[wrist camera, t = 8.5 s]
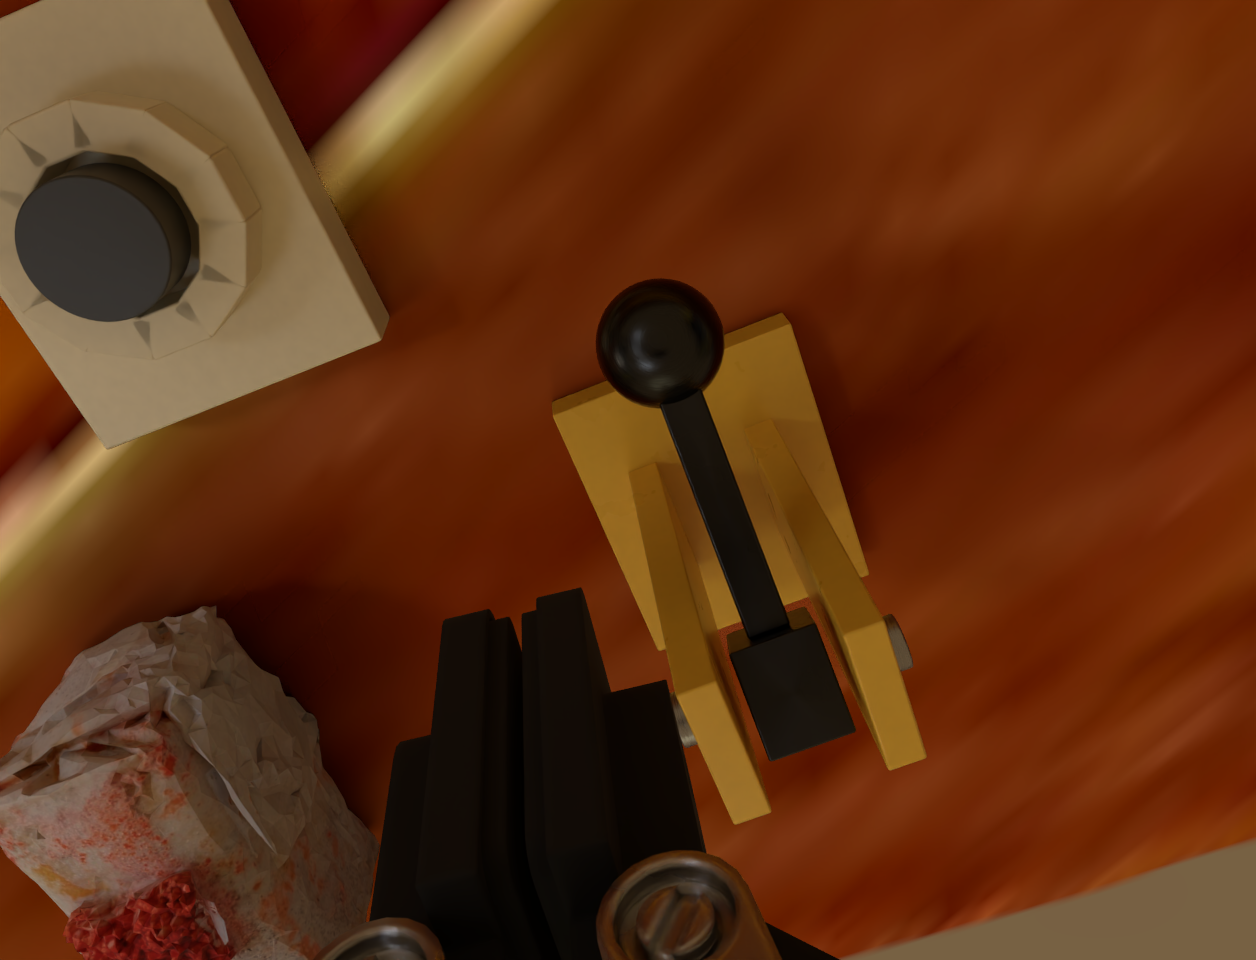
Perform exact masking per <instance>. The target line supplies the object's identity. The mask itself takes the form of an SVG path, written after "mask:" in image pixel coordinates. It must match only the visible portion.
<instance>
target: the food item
mask: <svg viewBox="0 0 1256 960" xmlns="http://www.w3.org/2000/svg"><path fill="white" fill-rule="evenodd" d="M11 748H12V749H11V750H10V752H9V753H8V754H6V755H5V756H4V757H2V758H1V759H0V845H1V847H2V849H3V851H4V853H5V854H6V856H7V857H8V858H9V859H10V860H11V861H13V862H14V863H15V864H16V865H17V866H18V867H19V868H20V869H21V870H22V871H23V872H24V873H26V874H27V875H28V876H29V877H30V878H31V879H33V880H34V881H35V882H37V883H38V885H39V886H40V887H41V888H42V889H43V890H44V891H45V892H46V893H47V894H48V895H49V896H50V897H51V898H52V899H53V901H54V902H55V903H56V904H57V905H58V906H59V907H60V908H61V909H62V910H63V911H64V912H65V914H66V915H67V916H68V917H69V920H68V923H67V925H66V927H65V930H64V933H63V936H66V943H74V945H75V949H76V950H77V952H80V954H82V955H83V957H84V960H313V959H314V957H315V956H316V955H317V954H318V953H319V952H320V950H322V949H323V948H324V947H325V946H327V945H328V944H329V943H331V942H332V941H333V940H334V939H336V938H337V937H338V936H339V935H341V934H343V933H345V932H347V931H349V930H351V929H353V928H355V927H357V926H359V925H361V924H363V923H366V916H367V909H368V905H369V902H370V898H371V893H372V886H373V871H374V867H375V863H376V859H377V856H378V852H379V846H380V845H379V843H378V841H377V839H376V837H375V835H374V834H373V833H371V832H370V831H369V830H368V829H367V828H366V826H365V825H364V824H363V822H362V821H361V820H360V819H359V818H358V817H356V816H355V815H354V814H353V813H352V812H351V811H350V810H349V809H348V808H347V806H346V803H345V800H344V798H343V796H342V795H341V793H340V791H339V790H338V788H337V786H336V784H335V783H334V781H333V779H332V778H331V777H330V776H329V774H328V773H327V772H326V771H325V769H324V768H323V766H322V759H321V752H320V746H319V729H318V727H317V720H316V718H315V717H314V715H313V714H311V713H307V712H306V711H305V710H304V709H303V708H302V706H301V705H300V704H299V703H298V702H297V700H296V699H295V698H293V697H286V696H285V694H284V692H283V690H282V686H281V683H280V680H279V677H276V676H274V675H272V674H270V673H268V672H266V671H264V670H262V669H260V668H259V667H258V666H257V665H256V664H255V663H254V662H253V661H252V659H251V658H250V657H249V656H248V654H247V653H246V652H245V651H244V649H243V648H242V647H241V645H240V644H239V643H238V642H237V640H236V639H235V636H234V634H233V632H232V629H231V627H230V626H228V624H227V622H226V621H225V619H222V618H217V616H216V606H213V607H207V606H202V607H200V608H199V609H197V610H196V611H194V612H191V613H188V614H186V615H183V616H179V617H165V618H163V619H161V620H159V621H157V622H140V623H137V624H135V625H132V626H130V627H127V628H125V629H123V630H121V631H120V632H118V633H117V634H115V635H114V636H112V637H111V638H109V639H107V640H106V641H104V642H102V643H100V644H98V645H96V646H93V647H91V648H88V649H86V650H83V651H82V652H81V653H80V654H79V655H78V656H76V657H75V659H74V661H73V662H72V664H71V666H70V667H69V668H68V669H67V671H66V672H65V674H64V676H63V678H62V681H61V683H60V684H59V685H58V687H57V688H56V689H55V690H54V692H53V693H52V694H51V695H50V696H49V697H48V698H47V700H46V701H45V702H44V704H43V705H42V706H41V708H40V710H39V711H38V713H37V715H36V717H35V718H34V719H33V721H32V722H31V724H30V725H29V726H28V728H27V729H26V730H25V732H24V733H22V734H20V735H19V736H17V737H16V738H15V740H14V742H13V745H12V747H11Z"/></svg>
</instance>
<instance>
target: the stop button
mask: <svg viewBox="0 0 1256 960" xmlns="http://www.w3.org/2000/svg"><path fill="white" fill-rule="evenodd" d="M15 245H16V251H17V254H18V257H19V260H20V263H21V265H22V267H23V269H24V271H25V273H26V274H27V276H28V278H29V279H30V281H31V282H32V283H33V284H34V286H35V287H36V288H37V289H38V290H39V291H40V292H41V293H42V294H43V295H44V296H45V297H46V298H47V299H48V300H50V301H51V302H52V303H54V304H55V305H57V306H58V307H60V308H61V309H63V310H65V311H67V312H69V313H71V314H73V315H76V316H78V317H82V318H85V319H88V320H94V321H101V322H117V321H123V320H128V319H131V318H134V317H137V316H139V315H141V314H143V313H145V312H146V311H148V310H149V309H151V308H152V307H153V306H154V305H155V304H156V303H157V302H158V301H159V300H161V299H162V298H163V297H164V296H165V295H166V294H167V293H168V292H169V291H170V290H171V289H172V288H173V287H174V286H175V285H177V283H178V282H179V281H180V280H181V278H182V277H183V275H184V273H185V271H186V269H187V266H188V264H189V260H190V255H191V237H190V232H189V227H188V224H187V221H186V219H185V216H184V214H183V212H182V210H181V208H180V207H179V205H178V204H177V202H176V201H175V200H174V198H173V197H172V196H171V195H170V194H169V192H168V191H167V190H165V189H164V188H163V187H162V186H161V185H160V184H159V183H158V182H156V181H155V180H154V179H152V178H151V177H149V176H147V175H146V174H144V173H142V172H140V171H138V170H136V169H133V168H130V167H127V166H124V165H119V164H114V163H93V164H87V165H83V166H80V167H77V168H75V169H73V170H71V171H68V172H66V173H64V174H62V175H60V176H57V177H55V178H53V179H51V180H49V181H47V182H45V183H43V184H41V185H40V186H38V187H37V188H36V189H34V190H33V191H32V192H31V193H30V194H29V195H28V196H27V198H26V199H25V201H24V202H23V204H22V206H21V208H20V210H19V212H18V215H17V219H16V223H15Z"/></svg>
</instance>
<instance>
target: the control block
mask: <svg viewBox="0 0 1256 960" xmlns="http://www.w3.org/2000/svg"><path fill="white" fill-rule="evenodd" d="M93 163H114V164H119V165H124V166H127V167H130V168H133V169H136V170H138V171H140V172H142V173H144V174H146V175H147V176H149V177H151V178H152V179H154V180H155V181H156V182H158V183H159V184H160V185H161V186H162V187H163V188H164V189H165V190H167V191H168V192H169V194H170V195H171V196H172V197H173V198H174V200H175V201H176V202H177V204H178V205H179V207H180V208H181V210H182V212H183V214H184V216H185V219H186V221H187V224H188V227H189V232H190V237H191V255H190V260H189V264H188V266H187V269H186V271H185V273H184V275H183V277H182V278H181V280H180V281H179V282H178V283H177V285H175V286H174V287H173V288H172V289H171V290H170V291H169V292H168V293H167V294H166V295H165V296H164V297H163V298H162V299H161V300H159V301H158V302H157V303H156V304H155V305H154V306H153V307H152V308H151V309H149V310H148V311H146V312H145V313H143V314H141V315H139V316H137V317H134V318H131V319H128V320H123V321H117V322H101V321H94V320H88V319H85V318H82V317H78V316H76V315H73V314H71V313H69V312H67V311H65V310H63V309H61V308H60V307H58V306H57V305H55V304H54V303H52V302H51V301H50V300H48V299H47V298H46V297H45V296H44V295H43V294H42V293H41V292H40V291H39V290H38V289H37V288H36V287H35V286H34V284H33V283H32V282H31V281H30V279H29V278H28V276H27V274H26V273H25V271H24V269H23V267H22V265H21V263H20V260H19V257H18V254H17V251H16V245H15V223H16V219H17V215H18V212H19V210H20V208H21V206H22V204H23V202H24V201H25V199H26V198H27V196H28V195H29V194H30V193H31V192H32V191H33V190H34V189H36V188H37V187H38V186H40V185H41V184H43V183H45V182H47V181H49V180H51V179H53V178H55V177H57V176H60V175H62V174H64V173H66V172H68V171H71V170H73V169H75V168H77V167H80V166H83V165H87V164H93ZM0 296H1V297H2V299H3V300H4V302H5V303H6V305H7V306H8V308H9V309H10V310H11V312H12V313H13V315H14V316H15V318H16V319H17V321H18V322H19V324H20V325H21V326H22V328H23V329H24V331H25V332H26V334H27V335H28V337H29V338H30V339H31V341H32V342H33V344H34V345H35V347H36V348H37V350H38V351H39V352H40V354H41V355H42V357H43V358H44V360H45V361H46V363H47V364H48V365H49V367H50V368H51V370H52V371H53V373H54V374H55V376H56V377H57V378H58V380H59V381H60V383H61V384H62V386H63V387H64V389H65V390H66V392H67V393H68V394H69V396H70V397H71V399H72V400H73V402H74V403H75V405H76V406H77V407H78V409H79V410H80V412H81V413H82V415H83V416H84V418H85V419H86V420H87V422H88V423H89V425H90V426H91V428H92V429H93V431H94V432H95V433H96V435H97V436H98V438H99V439H100V441H101V442H102V444H103V445H104V446H105V448H106V449H111V448H114V447H116V446H119V445H121V444H124V443H126V442H129V441H131V440H134V439H136V438H139V437H141V436H144V435H146V434H149V433H151V432H154V431H156V430H159V429H161V428H164V427H166V426H169V425H171V424H174V423H176V422H179V421H181V420H184V419H186V418H189V417H191V416H194V415H196V414H199V413H201V412H204V411H206V410H209V409H211V408H214V407H216V406H219V405H221V404H224V403H226V402H229V401H231V400H234V399H236V398H239V397H241V396H244V395H246V394H249V393H251V392H254V391H256V390H259V389H261V388H264V387H266V386H269V385H271V384H274V383H276V382H279V381H281V380H284V379H286V378H289V377H291V376H294V375H296V374H299V373H301V372H304V371H306V370H309V369H311V368H314V367H316V366H319V365H321V364H324V363H326V362H329V361H331V360H334V359H336V358H339V357H341V356H344V355H346V354H349V353H351V352H354V351H356V350H359V349H361V348H364V347H367V346H369V345H372V344H374V343H377V342H379V341H381V340H382V337H383V335H384V332H385V329H386V327H387V324H388V321H389V318H390V317H389V314H388V312H387V311H386V309H385V307H384V305H383V303H382V301H381V299H380V297H379V295H378V293H377V291H376V289H375V287H374V285H373V283H372V281H371V279H370V277H369V275H368V273H367V271H366V269H365V267H364V265H363V263H362V261H361V259H360V257H359V255H358V253H357V251H356V250H355V248H354V246H353V244H352V242H351V240H350V238H349V236H348V234H347V232H346V230H345V228H344V226H343V224H342V222H341V220H340V218H339V216H338V214H337V212H336V210H335V208H334V206H333V204H332V202H331V200H330V198H329V196H328V194H327V192H326V190H325V189H324V187H323V185H322V183H321V181H320V179H319V177H318V175H317V173H316V171H315V169H314V167H313V165H312V163H311V161H310V159H309V157H308V155H307V153H306V151H305V149H304V147H303V145H302V143H301V141H300V139H299V137H298V135H297V133H296V131H295V129H294V127H293V126H292V124H291V122H290V120H289V118H288V116H287V114H286V112H285V110H284V108H283V106H282V104H281V102H280V100H279V98H278V96H277V94H276V92H275V90H274V88H273V86H272V84H271V82H270V80H269V78H268V76H267V74H266V72H265V70H264V68H263V66H262V65H261V63H260V61H259V59H258V57H257V55H256V53H255V51H254V49H253V47H252V45H251V43H250V41H249V39H248V37H247V35H246V33H245V31H244V29H243V27H242V25H241V23H240V21H239V19H238V17H237V15H236V13H235V11H234V9H233V7H232V5H231V4H230V2H229V0H41V1H38V2H36V3H34V4H32V5H29V6H27V7H25V8H23V9H20V10H18V11H16V12H13V13H11V14H9V15H7V16H4V17H2V18H0Z"/></svg>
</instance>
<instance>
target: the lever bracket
mask: <svg viewBox="0 0 1256 960" xmlns="http://www.w3.org/2000/svg"><path fill="white" fill-rule="evenodd" d="M724 337H725V349H724V356H723V361H722V364H721V367H720V369H719V371H718V373H717V375H716V377H715V379H714V380H713V381H712V383H711V384H710V385H709V387H708V388H707V389H706V390H705V391H704V392H703V395H704V397H705V400H706V403H707V405H708V408H709V410H710V413H711V416H712V418H713V421H714V424H715V426H716V429H717V432H718V434H719V437H720V439H721V442H722V445H723V447H724V450H725V453H726V455H727V458H728V461H729V463H730V466H731V468H732V471H733V474H734V476H735V479H736V482H737V484H738V487H739V489H740V492H741V495H742V497H743V500H744V503H745V505H746V508H747V511H748V513H749V516H750V518H751V521H752V524H753V526H754V529H755V532H756V534H757V537H758V540H759V542H760V545H761V547H762V550H763V553H764V555H765V558H766V561H767V563H768V566H769V569H770V571H771V574H772V576H773V579H774V582H775V584H776V587H777V590H778V592H779V595H780V598H781V600H782V603H783V605H787V604H790V603H793V602H795V601H798V600H801V599H803V598H806V597H809V599H810V601H811V603H812V605H813V607H814V609H815V612H816V614H817V616H818V618H819V620H820V623H821V625H822V627H823V629H824V631H825V633H826V636H827V638H828V640H829V642H830V644H831V646H832V649H833V651H834V653H835V655H836V657H837V660H838V662H839V664H840V666H841V668H842V670H843V673H844V675H845V677H846V679H847V681H848V684H849V686H850V688H851V690H852V692H853V694H854V697H855V699H856V701H857V703H858V705H859V707H860V710H861V712H862V714H863V716H864V718H865V721H866V723H867V725H868V727H869V729H870V731H871V734H872V736H873V738H874V740H875V742H876V744H877V747H878V749H879V751H880V753H881V755H882V758H883V760H884V762H885V764H886V766H887V768H888V769H889V770H893V769H896V768H899V767H902V766H905V765H908V764H911V763H913V762H916V761H919V760H922V759H925V758H926V755H927V754H926V751H925V748H924V745H923V741H922V738H921V735H920V732H919V729H918V726H917V722H916V719H915V716H914V713H913V710H912V706H911V703H910V700H909V697H908V694H907V690H906V687H905V684H904V681H903V678H902V674H901V671H904V670H907V669H909V668H912V667H913V660H912V657H911V653H910V650H909V648H908V645H907V642H906V640H905V637H904V635H903V633H902V630H901V628H900V626H899V624H898V622H897V621H896V619H895V617H894V616H893V615H892V614H888V615H885V616H883V617H882V615H881V613H880V612H879V610H878V608H877V606H876V604H875V603H874V601H873V599H872V597H871V596H870V594H869V592H868V590H867V588H866V587H865V585H864V583H863V581H862V579H861V577H864V576H866V575H869V571H868V568H867V565H866V562H865V558H864V555H863V552H862V549H861V546H860V542H859V539H858V536H857V533H856V530H855V527H854V523H853V520H852V517H851V514H850V511H849V507H848V504H847V501H846V498H845V495H844V491H843V488H842V485H841V482H840V479H839V475H838V472H837V469H836V466H835V463H834V459H833V456H832V453H831V450H830V447H829V444H828V440H827V437H826V434H825V431H824V428H823V424H822V421H821V418H820V415H819V412H818V408H817V405H816V402H815V399H814V396H813V392H812V389H811V386H810V383H809V380H808V376H807V373H806V370H805V367H804V364H803V361H802V357H801V354H800V351H799V348H798V345H797V341H796V338H795V335H794V332H793V329H792V325H791V324H790V322H789V321H788V320H787V318H786V317H785V316H784V314H783V313H780V314H777V315H774V316H772V317H769V318H767V319H764V320H762V321H759V322H756V323H754V324H751V325H749V326H746V327H744V328H741V329H738V330H736V331H733V332H731V333H728V334H725V335H724ZM552 411H553V418H554V420H555V422H556V425H557V427H558V429H559V431H560V433H561V436H562V438H563V440H564V442H565V445H566V447H567V449H568V451H569V453H570V456H571V458H572V460H573V462H574V465H575V467H576V469H577V471H578V473H579V476H580V478H581V480H582V482H583V485H584V487H585V489H586V491H587V493H588V496H589V498H590V500H591V502H592V504H593V507H594V509H595V511H596V513H597V516H598V518H599V520H600V522H601V524H602V527H603V529H604V531H605V533H606V536H607V538H608V540H609V542H610V544H611V547H612V549H613V551H614V553H615V556H616V558H617V560H618V562H619V564H620V567H621V569H622V571H623V573H624V576H625V578H626V580H627V582H628V584H629V587H630V589H631V591H632V593H633V596H634V598H635V600H636V602H637V604H638V607H639V609H640V611H641V613H642V616H643V618H644V620H645V622H646V624H647V627H648V629H649V631H650V633H651V635H652V638H653V640H654V642H655V644H656V647H657V649H658V650H659V651H661V650H664V649H666V652H667V657H668V661H669V666H670V670H671V675H672V680H673V684H674V689H675V692H672V693H670V697H671V701H672V705H673V709H674V713H675V717H676V721H677V725H678V730H679V734H680V738H681V742H682V744H683V745H684V746H685V747H687V748H688V747H691V746H693V745H696V744H698V746H699V748H700V750H701V753H702V755H703V757H704V759H705V762H706V764H707V766H708V768H709V770H710V773H711V775H712V777H713V779H714V781H715V784H716V786H717V788H718V790H719V792H720V795H721V797H722V799H723V801H724V804H725V806H726V808H727V810H728V812H729V815H730V817H731V819H732V821H733V823H734V824H739V823H742V822H745V821H748V820H751V819H754V818H756V817H759V816H762V815H765V814H768V813H770V812H771V806H770V803H769V800H768V796H767V793H766V790H765V786H764V783H763V780H762V776H761V773H760V770H759V766H758V763H757V760H756V756H755V753H754V749H753V746H752V743H751V739H750V736H749V733H748V729H747V726H746V723H745V719H744V716H743V713H742V709H741V706H740V703H739V699H738V696H737V693H736V689H735V686H734V683H733V679H732V676H731V673H730V669H729V666H728V663H727V659H726V656H725V653H724V649H723V646H722V643H721V639H720V636H719V633H718V630H719V629H721V628H724V627H727V626H730V625H732V624H735V623H738V622H740V621H741V619H740V616H739V613H738V611H737V608H736V605H735V603H734V600H733V598H732V595H731V592H730V590H729V587H728V584H727V582H726V579H725V577H724V574H723V571H722V569H721V566H720V563H719V561H718V558H717V556H716V553H715V550H714V548H713V545H712V542H711V540H710V537H709V535H708V532H707V529H706V527H705V524H704V521H703V519H702V516H701V514H700V511H699V508H698V506H697V503H696V500H695V498H694V495H693V493H692V490H691V487H690V485H689V482H688V479H687V477H686V474H685V471H684V469H683V466H682V464H681V461H680V458H679V456H678V453H677V450H676V448H675V445H674V443H673V440H672V437H671V435H670V432H669V429H668V427H667V424H666V422H665V419H664V416H663V414H662V411H661V409H657V408H648V407H644V406H640V405H638V404H635V403H633V402H631V401H629V400H627V399H626V398H624V397H623V396H621V395H620V394H619V393H618V392H617V391H616V390H614V389H613V387H612V386H611V385H610V384H609V383H608V381H605V382H602V383H599V384H597V385H594V386H592V387H589V388H587V389H584V390H581V391H579V392H576V393H574V394H571V395H569V396H566V397H563V398H561V399H558V400H556V401H553V402H552Z"/></svg>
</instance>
